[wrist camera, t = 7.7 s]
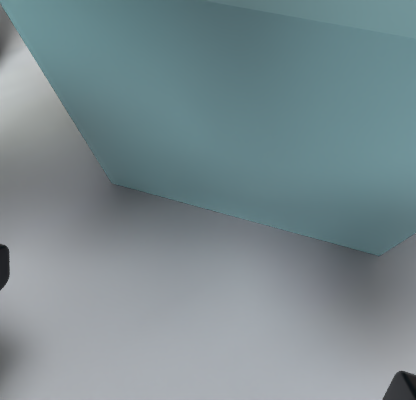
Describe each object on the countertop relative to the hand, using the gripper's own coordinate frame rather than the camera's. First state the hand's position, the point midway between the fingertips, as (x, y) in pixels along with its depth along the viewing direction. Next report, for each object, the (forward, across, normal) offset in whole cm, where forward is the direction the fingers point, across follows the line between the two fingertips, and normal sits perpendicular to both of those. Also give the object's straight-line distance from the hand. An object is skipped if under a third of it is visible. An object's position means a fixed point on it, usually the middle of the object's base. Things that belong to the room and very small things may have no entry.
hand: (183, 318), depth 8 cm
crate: (+11, 0, -3) cm, 11 cm away
